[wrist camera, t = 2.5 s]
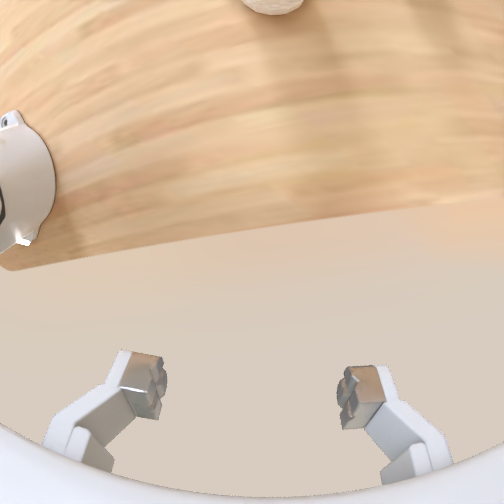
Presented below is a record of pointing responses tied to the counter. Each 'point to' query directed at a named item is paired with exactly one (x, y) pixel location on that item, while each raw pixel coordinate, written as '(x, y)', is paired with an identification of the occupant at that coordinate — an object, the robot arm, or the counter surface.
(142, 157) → the counter surface
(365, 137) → the counter surface
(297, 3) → the white cup
